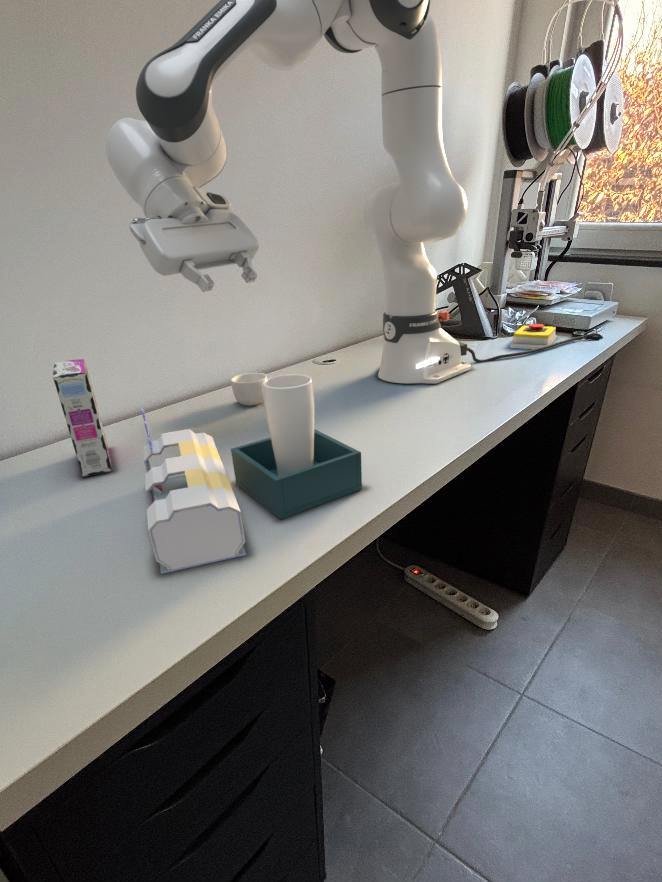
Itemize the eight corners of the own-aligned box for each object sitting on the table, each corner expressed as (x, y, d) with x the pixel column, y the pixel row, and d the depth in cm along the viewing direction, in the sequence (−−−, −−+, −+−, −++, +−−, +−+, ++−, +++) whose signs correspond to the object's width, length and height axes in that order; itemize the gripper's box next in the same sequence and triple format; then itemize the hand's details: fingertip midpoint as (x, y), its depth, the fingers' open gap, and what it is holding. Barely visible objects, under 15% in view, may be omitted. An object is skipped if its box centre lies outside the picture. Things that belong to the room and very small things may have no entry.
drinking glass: (314, 493, 74) (306, 388, 67) (268, 491, 76) (255, 388, 68) (323, 472, 80) (317, 373, 72) (280, 470, 81) (269, 373, 74)
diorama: (151, 484, 82) (131, 402, 75) (218, 471, 84) (204, 391, 78) (159, 574, 61) (132, 471, 54) (247, 554, 63) (231, 454, 57)
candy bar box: (114, 471, 87) (87, 372, 79) (82, 478, 85) (50, 377, 77) (109, 448, 96) (84, 356, 88) (80, 454, 94) (51, 361, 86)
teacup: (257, 410, 109) (253, 384, 107) (226, 406, 113) (223, 381, 110) (281, 395, 117) (279, 371, 114) (252, 392, 120) (249, 368, 118)
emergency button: (559, 321, 146) (548, 332, 135) (556, 337, 148) (545, 350, 137) (524, 319, 150) (510, 330, 139) (522, 335, 152) (508, 347, 141)
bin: (311, 459, 86) (309, 425, 83) (362, 489, 76) (361, 452, 73) (236, 484, 80) (230, 448, 77) (280, 519, 70) (275, 480, 67)
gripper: (128, 201, 75) (186, 277, 74) (233, 196, 88) (283, 260, 87) (118, 237, 79) (173, 309, 79) (219, 227, 93) (266, 288, 92)
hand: (231, 283), depth 83 cm, fingers open, 8 cm apart
